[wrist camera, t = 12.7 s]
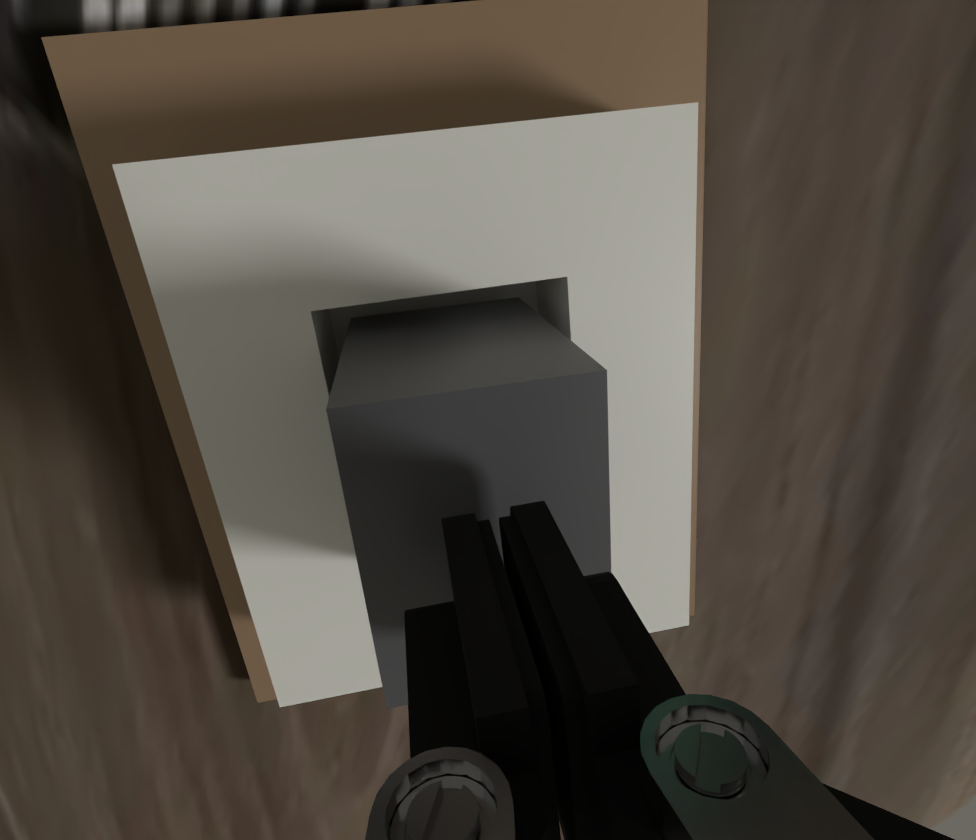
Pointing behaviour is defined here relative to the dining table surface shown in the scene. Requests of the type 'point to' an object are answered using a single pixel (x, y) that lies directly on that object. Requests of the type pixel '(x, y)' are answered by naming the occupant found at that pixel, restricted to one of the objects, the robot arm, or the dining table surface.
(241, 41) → the socket
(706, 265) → the dining table surface
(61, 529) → the dining table surface
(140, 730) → the dining table surface
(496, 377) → the plug
